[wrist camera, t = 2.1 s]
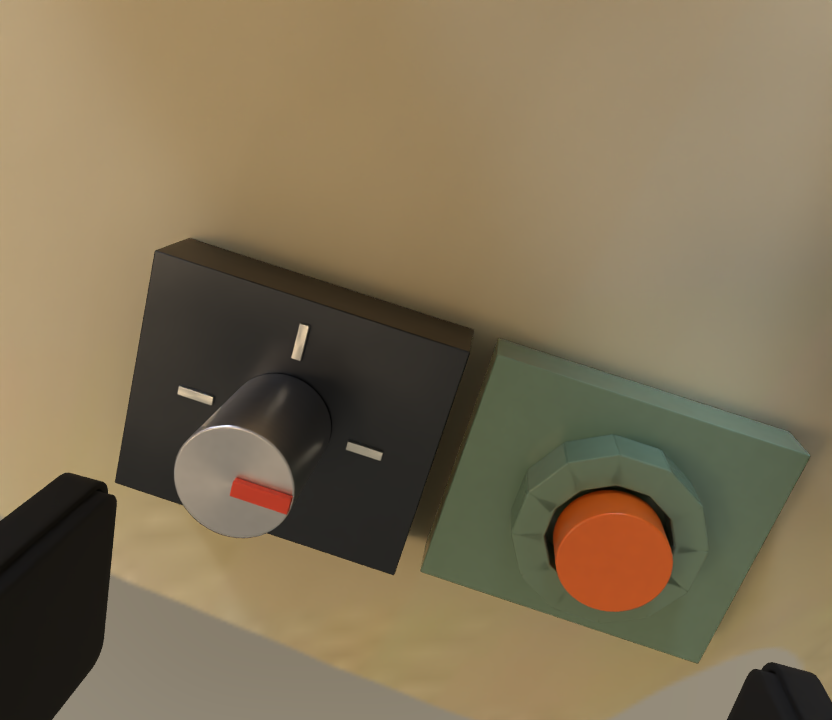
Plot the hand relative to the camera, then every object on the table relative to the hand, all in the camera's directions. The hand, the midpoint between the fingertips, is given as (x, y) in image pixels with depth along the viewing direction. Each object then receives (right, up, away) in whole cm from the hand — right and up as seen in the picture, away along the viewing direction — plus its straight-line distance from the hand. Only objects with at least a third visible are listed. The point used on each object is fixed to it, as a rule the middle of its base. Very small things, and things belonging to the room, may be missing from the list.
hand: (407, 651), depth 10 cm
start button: (+7, -2, +17) cm, 18 cm away
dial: (-5, +2, +17) cm, 18 cm away
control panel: (-5, +3, +20) cm, 21 cm away
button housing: (+8, -1, +20) cm, 21 cm away
